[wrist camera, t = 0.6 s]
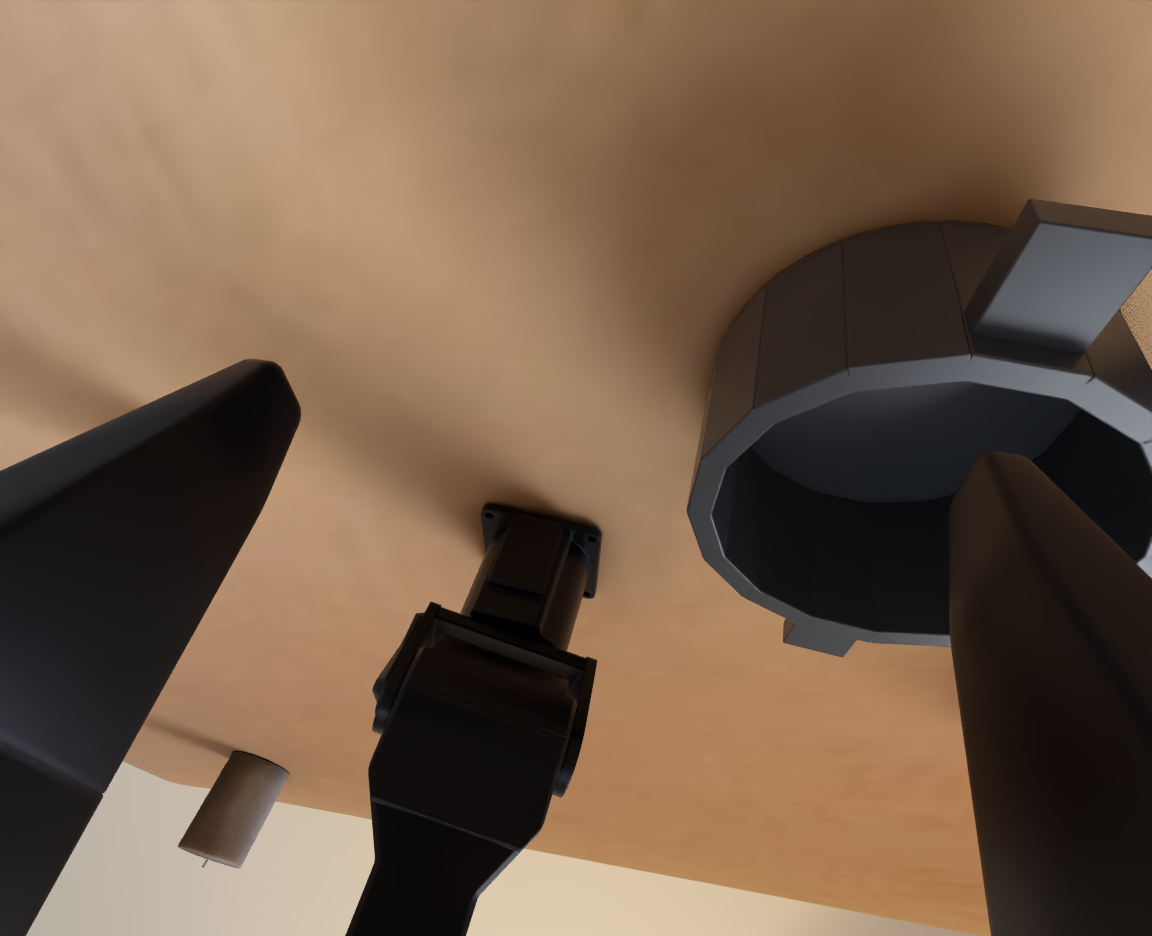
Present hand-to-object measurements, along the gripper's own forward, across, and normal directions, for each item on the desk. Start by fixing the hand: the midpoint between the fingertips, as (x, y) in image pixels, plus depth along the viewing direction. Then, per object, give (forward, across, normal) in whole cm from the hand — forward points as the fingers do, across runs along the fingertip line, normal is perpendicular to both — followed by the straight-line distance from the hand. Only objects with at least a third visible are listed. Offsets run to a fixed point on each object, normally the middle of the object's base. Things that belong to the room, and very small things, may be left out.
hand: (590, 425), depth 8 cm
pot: (+14, -7, +10) cm, 18 cm away
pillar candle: (+15, +62, +99) cm, 118 cm away
